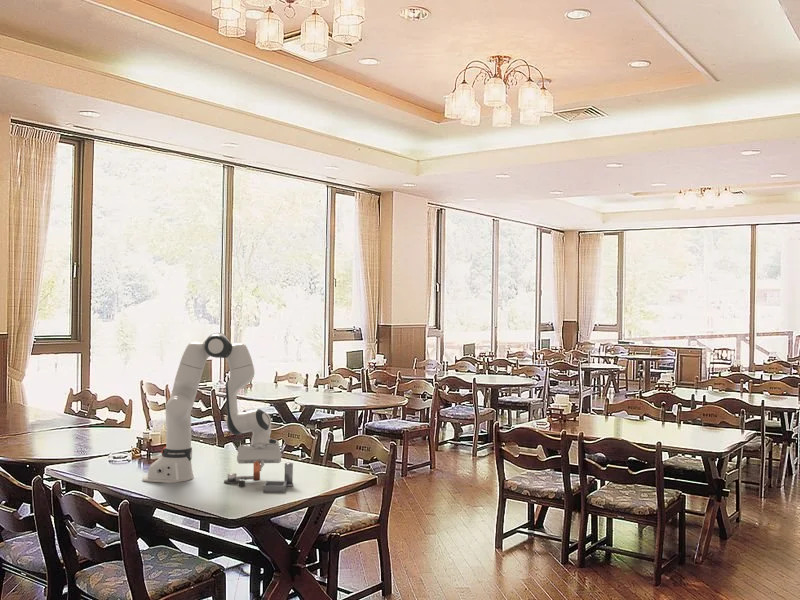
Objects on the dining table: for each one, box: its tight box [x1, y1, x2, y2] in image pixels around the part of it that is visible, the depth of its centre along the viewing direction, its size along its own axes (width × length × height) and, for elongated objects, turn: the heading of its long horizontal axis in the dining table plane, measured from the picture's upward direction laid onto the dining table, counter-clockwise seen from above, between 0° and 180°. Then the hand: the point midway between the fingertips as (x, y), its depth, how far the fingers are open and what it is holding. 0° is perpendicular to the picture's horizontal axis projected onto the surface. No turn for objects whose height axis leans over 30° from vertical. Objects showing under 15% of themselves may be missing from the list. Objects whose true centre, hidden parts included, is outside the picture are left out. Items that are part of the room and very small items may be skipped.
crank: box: [226, 460, 261, 482], centre depth 345 cm, size 14×4×9 cm, turn 96°
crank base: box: [223, 479, 240, 485], centre depth 345 cm, size 7×7×1 cm
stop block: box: [238, 480, 246, 488], centre depth 338 cm, size 2×2×2 cm
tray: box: [262, 480, 288, 494], centre depth 332 cm, size 9×9×3 cm
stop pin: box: [283, 462, 294, 488], centre depth 341 cm, size 4×4×10 cm
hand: (258, 470), depth 348 cm, fingers closed, pressing on crank
